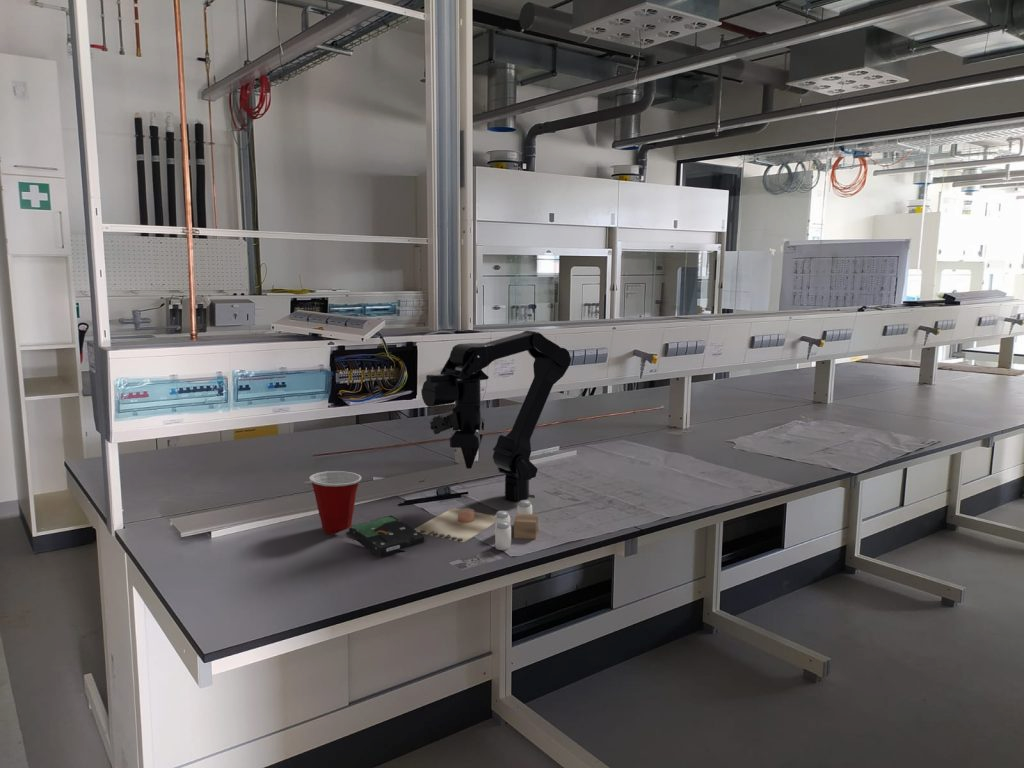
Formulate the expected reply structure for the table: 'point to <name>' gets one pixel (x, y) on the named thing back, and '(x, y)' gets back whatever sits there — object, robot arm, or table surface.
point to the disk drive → (386, 535)
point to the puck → (466, 515)
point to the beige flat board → (455, 526)
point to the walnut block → (526, 526)
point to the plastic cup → (335, 498)
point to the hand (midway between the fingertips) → (469, 468)
